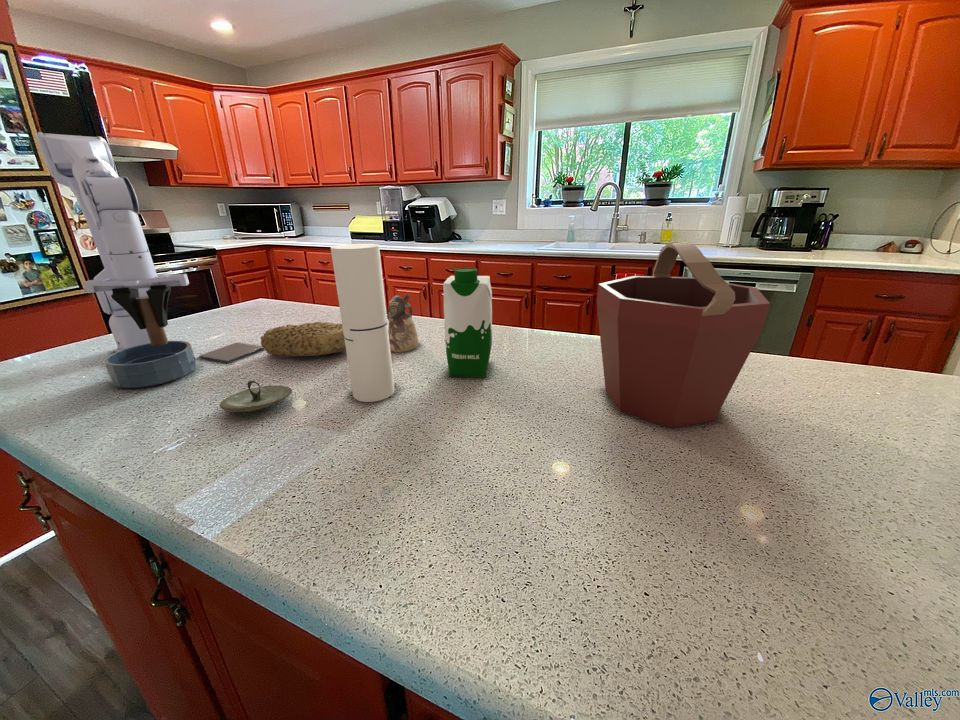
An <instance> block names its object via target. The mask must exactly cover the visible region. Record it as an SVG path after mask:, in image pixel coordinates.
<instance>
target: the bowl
mask: <svg viewBox="0 0 960 720" xmlns="http://www.w3.org/2000/svg"><path fill="white" fill-rule="evenodd" d="M103 365H104V367H105V369H106V371H107V374H108V377H109V379H110V381H111V383H112V384H113V386H114V387H118V388H146V387H154V386H158V385H162V384H165V383H169V382H172V381H174V380H178V379H180V378H182V377H184V376H186V375H188V374H190V373H191V372H193V371H194V370H195V369H196V368H197V365H198V364H197V360H196V358H195V354H194V350H193V347H192V344H191V343H189V342H188V341H184V340H168V343H167V344H165V345H161V346H152V345H151V343H147V344H143V345H138V346H134V347H130V348H127V349H123V350H120V351H118V352H116V351H114V352H113V353H111V354H109V355H108V356H106V357H105V358H104V359H103Z"/></svg>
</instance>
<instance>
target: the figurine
mask: <svg viewBox="0 0 960 720" xmlns="http://www.w3.org/2000/svg"><path fill="white" fill-rule="evenodd" d="M410 298H411V295H409V294H407V293H406V294H405V295H404V296H403V297H402V296H400V295H394V296H393V297H392V298H391V299H390V300H389V301H388V307H387V308H388V309H387V310H386V315H387V322H388V333H389V343H390V352H394V353H395V352H396V353H404V352H409V351H413V350H415V349H416V348H417V347H418V345H419V336H418V331H417V327H416V324H415V322H414V319H413V313H414V312H413V307H412V305H411V304H410V303H409V302H408V301H409V300H410ZM406 309H408V312H406Z"/></svg>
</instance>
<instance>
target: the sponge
mask: <svg viewBox="0 0 960 720" xmlns="http://www.w3.org/2000/svg"><path fill="white" fill-rule="evenodd" d="M260 345H261V347H263V348H264V349H263V351H266V353H267V354H269V355H273V356H281V357H282V356H286V357H288V356H289V357H290V356H294V357H296V356H300V357H305V356H306V357H307V356H309V357H316V356H317V357H318V356H325V355H332V354H337V353H342V352H344V351H345V352H346V346H345V339H344V333H343V326H342V323H335V322H327V321H326V322H322V321H318V322H317V321H316V322H306V323H302V324H291V323H290V324H286V326H285V325H282V326H275V327H271V328H268V329H267V330H265V333H263V335H261V336H260Z"/></svg>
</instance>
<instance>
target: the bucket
mask: <svg viewBox="0 0 960 720" xmlns="http://www.w3.org/2000/svg"><path fill="white" fill-rule="evenodd" d="M678 257H679V258H680V260H681V261H682V262H683V263H684V264H685V266H686V267H687V269H688V271H689V272H690V274H691V275H692V276H671V273H672V270H673V268H674V267H675V264H676V261H677V258H678ZM596 296H597V297H596V311H597V321H598V330H599V331H598V332H599V339H600V349H601V361H602V367H603V368H602V370H603V378H604V387H605V388H604V389H605V392H606V394H607V395H608V397H609V399H610V400H611V401H612V403H613V404H614V406H615V407H616V408H617V410H618V411H619V412H620V414H622V415H623V414H624V415H628V416H631V417H633V418H637V419H641V420H644V421H647V422H651V423H653V424H657V425H661V426H664V427H667V428H670V429H671V428H678V427H683V426H690V425H696V424H704V423H708V422H709V423H710V422H715V420H716V418H717V417H718V415H719V413H720V411H721V409H722V407H723V405H724V403H725V401H726V399H727V398H728V396H729V394H730V392H731V390H732V388H733V386H734V384H735V382H736V380H737V378H738V377H739V375H740V373H741V371H742V369H743V367H744V365H745V363H746V361H747V360H748V358H749V356H750V355H751V352H752V350H753V348H754V346H755V344H756V343H757V341H758V339H759V336H760V334H761V333H762V331H763V329H764V327H765V324H766V320H767V317H768V312H769V308H770V305H771V303H770V301H769V300H768V299H767V298H766V297H765V296H764V295H763V293H762V292H761V291H760V290H759V289H758V288H757V287H755V286H754V287H753V286H749V285H742V284H737V283H730V282H726V280H725V279H724V277H722V276H721V275H720V273H718V272H717V270H716V268H715V267H714V266H713V264H712V262H711V261H710V260H709V259H708V258H707V257H706V256H705V255H704V254H703V252H702V251H701V250H700V249H699V248H698V247H697V246H696V245H695V244H693V243H688V242H687V243H682V242H681V243H680V242H679V243H666V244H665V246H663V247H662V249H660V251H659V253H658V256H657V258H656V261H655V264H654V268H653V272H652V276H651V275H645V276H644V275H631V276H625V277H622V278H618V279H613V280H610V281H605V282H601V283H598V284H597V293H596Z"/></svg>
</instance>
